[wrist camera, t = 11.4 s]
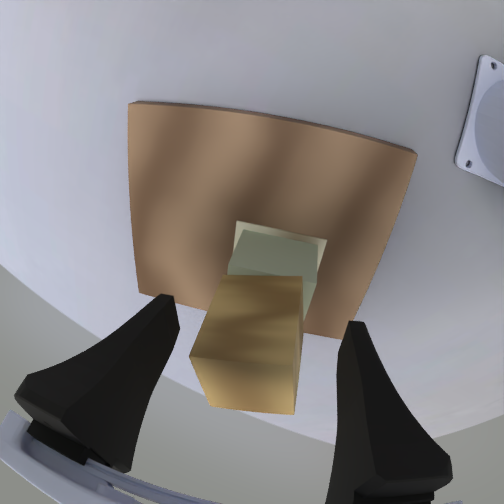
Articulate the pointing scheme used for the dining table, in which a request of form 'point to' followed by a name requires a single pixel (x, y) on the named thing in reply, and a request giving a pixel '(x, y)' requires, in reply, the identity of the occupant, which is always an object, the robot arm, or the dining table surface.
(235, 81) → the dining table surface
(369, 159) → the base plate
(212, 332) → the ochre block
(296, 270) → the sage block
